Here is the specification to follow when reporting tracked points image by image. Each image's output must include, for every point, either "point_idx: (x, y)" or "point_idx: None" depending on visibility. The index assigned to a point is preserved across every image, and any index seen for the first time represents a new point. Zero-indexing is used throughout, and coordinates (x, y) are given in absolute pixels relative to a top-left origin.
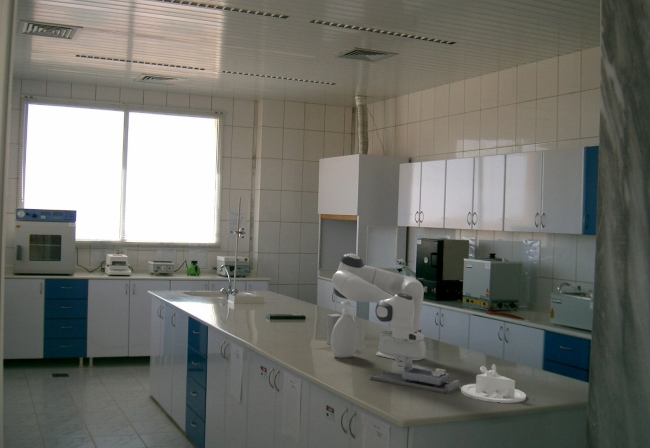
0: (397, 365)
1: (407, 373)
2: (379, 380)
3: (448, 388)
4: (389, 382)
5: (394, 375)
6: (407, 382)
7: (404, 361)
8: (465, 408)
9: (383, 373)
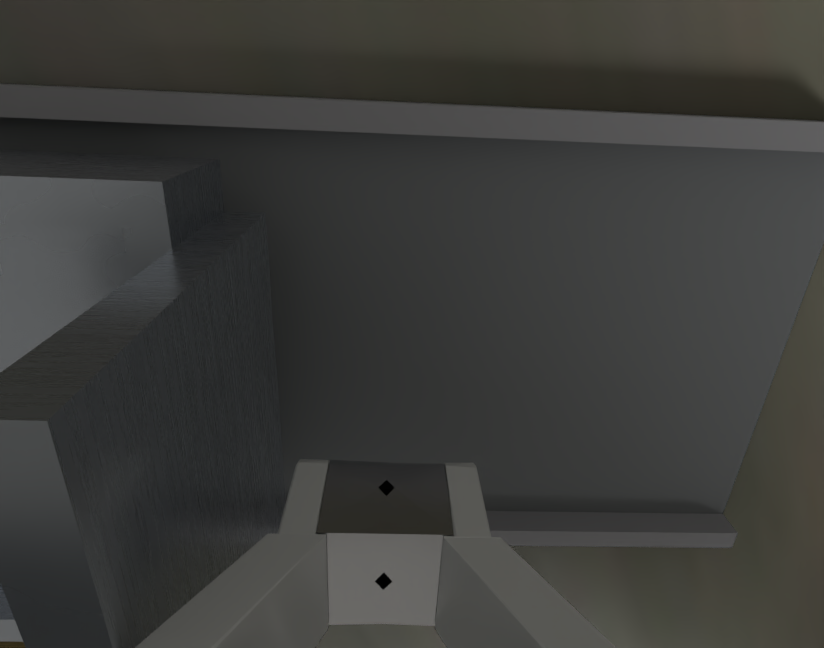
0: (457, 465)
1: (44, 172)
2: (681, 114)
3: None
4: (485, 105)
5: (542, 494)
6: (112, 107)
7: (2, 389)
8: None
9: (707, 498)
